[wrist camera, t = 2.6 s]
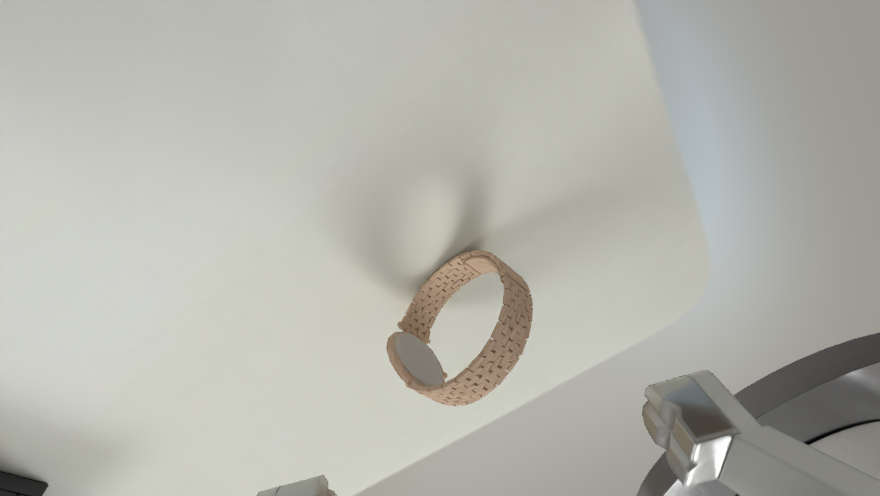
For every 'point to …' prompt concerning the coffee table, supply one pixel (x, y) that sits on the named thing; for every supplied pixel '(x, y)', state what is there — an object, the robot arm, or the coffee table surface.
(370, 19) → the coffee table surface
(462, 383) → the rose gold wristwatch
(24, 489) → the grid
